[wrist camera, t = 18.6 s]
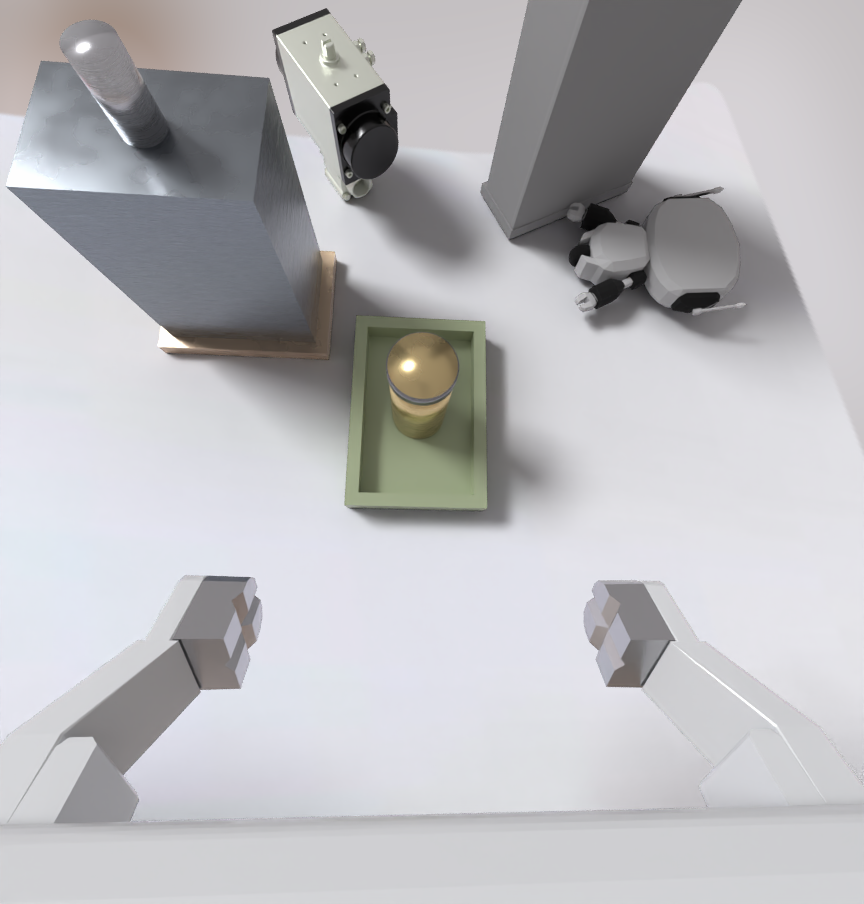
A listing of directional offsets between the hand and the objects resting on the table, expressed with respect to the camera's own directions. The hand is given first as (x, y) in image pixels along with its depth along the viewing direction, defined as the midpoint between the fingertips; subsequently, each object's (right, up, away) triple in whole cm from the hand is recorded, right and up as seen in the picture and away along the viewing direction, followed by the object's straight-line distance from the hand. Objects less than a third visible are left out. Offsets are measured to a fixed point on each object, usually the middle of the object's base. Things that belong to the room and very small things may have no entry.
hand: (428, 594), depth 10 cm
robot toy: (+20, +21, +32) cm, 43 cm away
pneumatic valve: (-8, +30, +32) cm, 45 cm away
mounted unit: (-16, +17, +28) cm, 36 cm away
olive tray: (-1, +7, +27) cm, 28 cm away
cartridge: (-1, +7, +26) cm, 27 cm away
